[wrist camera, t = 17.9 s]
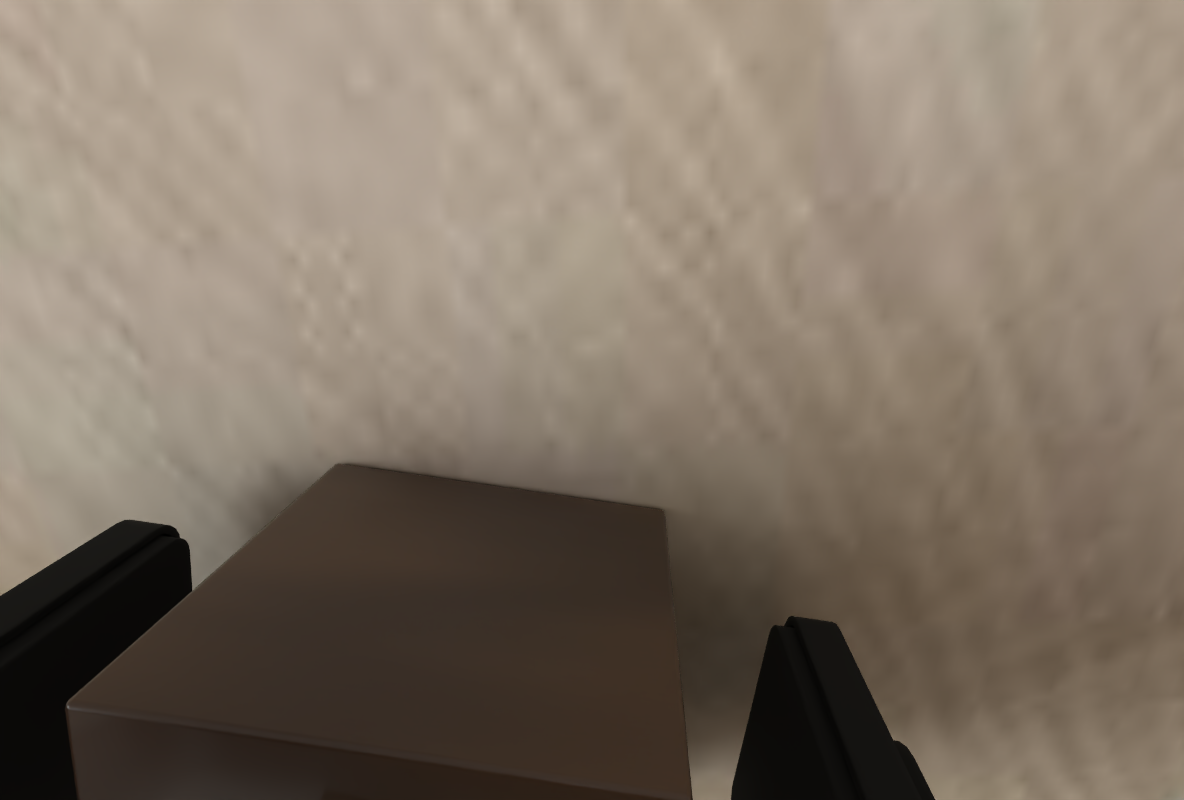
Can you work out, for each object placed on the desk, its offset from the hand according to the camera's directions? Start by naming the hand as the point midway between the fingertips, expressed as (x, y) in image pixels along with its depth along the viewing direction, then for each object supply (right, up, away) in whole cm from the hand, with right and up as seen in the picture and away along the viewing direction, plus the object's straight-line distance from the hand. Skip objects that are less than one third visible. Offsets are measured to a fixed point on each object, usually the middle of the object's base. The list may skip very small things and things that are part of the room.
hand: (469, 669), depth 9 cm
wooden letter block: (0, 0, +1) cm, 1 cm away
